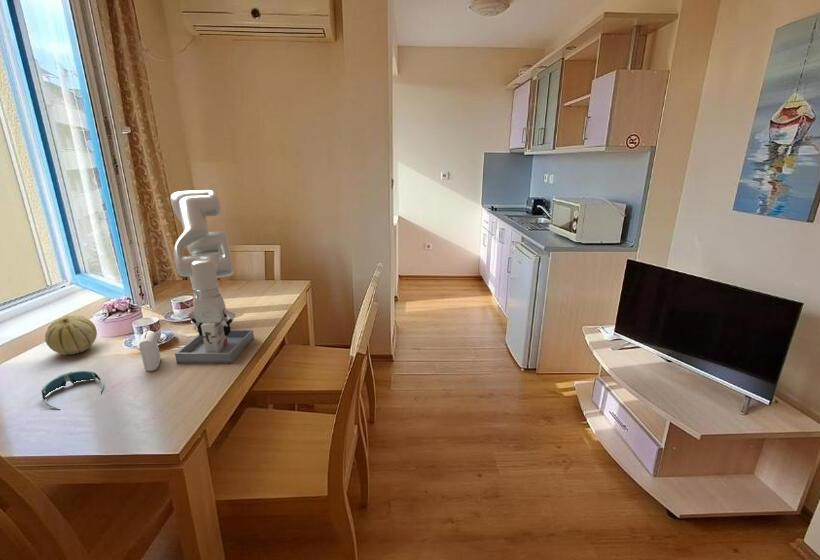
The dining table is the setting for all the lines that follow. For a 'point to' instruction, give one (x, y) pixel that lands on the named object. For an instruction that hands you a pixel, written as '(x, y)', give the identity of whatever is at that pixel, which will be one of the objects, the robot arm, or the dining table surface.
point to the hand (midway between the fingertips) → (215, 334)
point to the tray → (227, 355)
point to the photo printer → (149, 351)
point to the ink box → (213, 337)
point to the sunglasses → (66, 377)
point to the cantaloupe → (70, 334)
